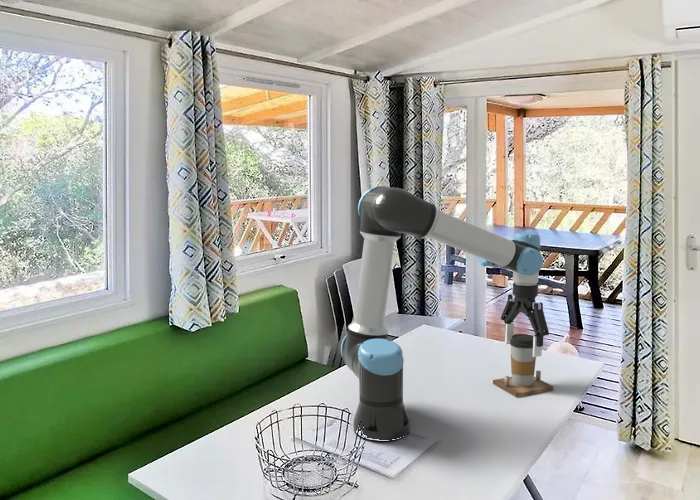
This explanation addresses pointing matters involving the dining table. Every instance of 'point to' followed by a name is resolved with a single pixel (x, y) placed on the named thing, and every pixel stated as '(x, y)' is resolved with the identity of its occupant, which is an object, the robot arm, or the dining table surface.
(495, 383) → the wooden board with pegs
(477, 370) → the dining table surface
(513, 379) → the coffee cup
